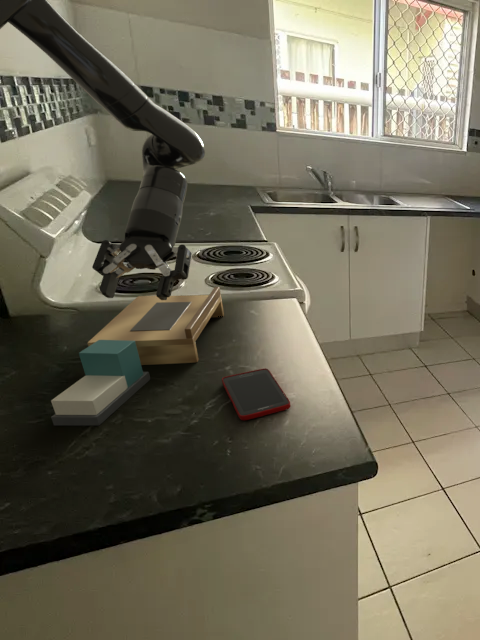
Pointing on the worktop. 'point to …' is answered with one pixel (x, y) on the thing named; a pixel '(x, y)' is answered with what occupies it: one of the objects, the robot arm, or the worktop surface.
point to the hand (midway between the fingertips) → (134, 297)
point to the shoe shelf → (164, 326)
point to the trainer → (101, 383)
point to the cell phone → (255, 394)
